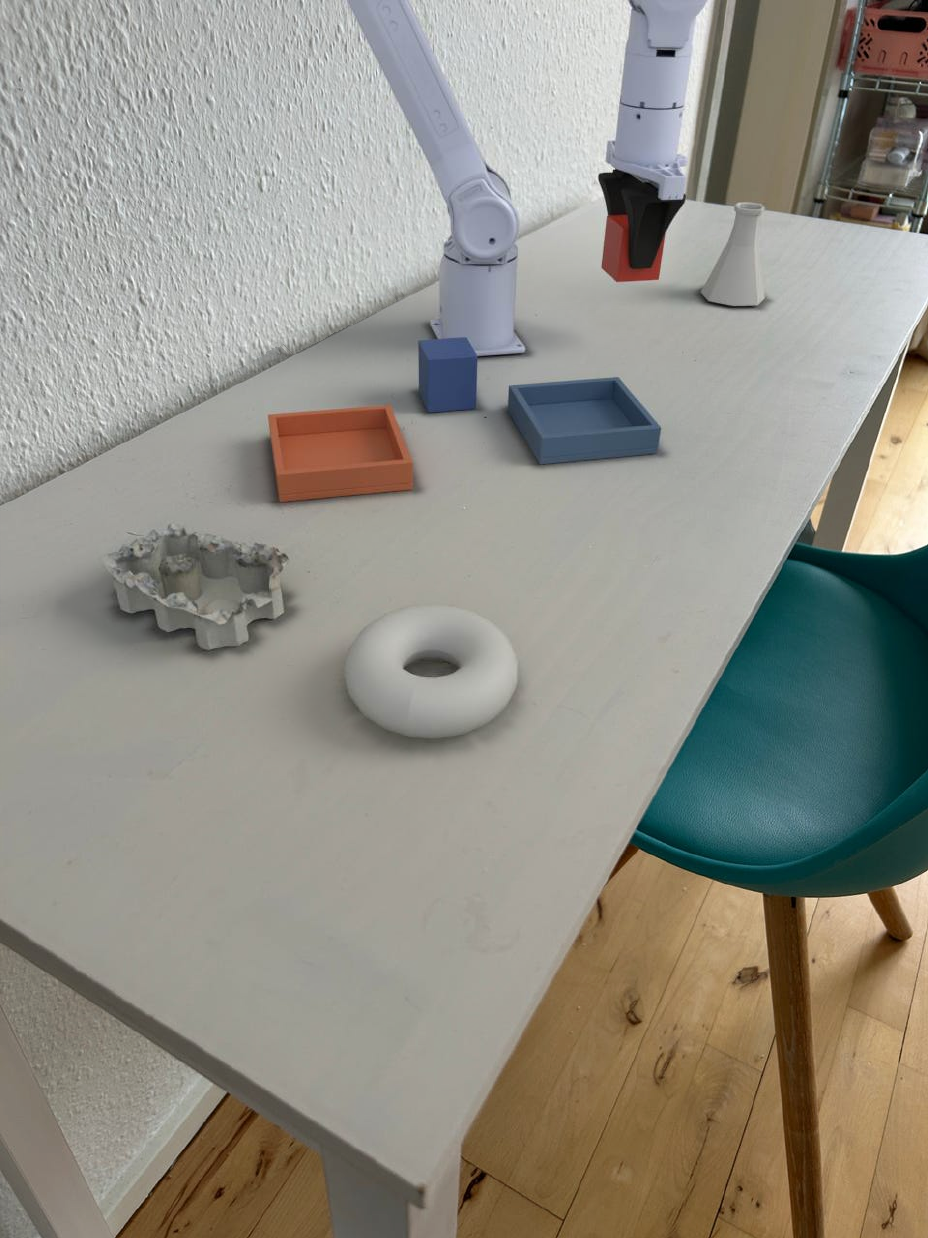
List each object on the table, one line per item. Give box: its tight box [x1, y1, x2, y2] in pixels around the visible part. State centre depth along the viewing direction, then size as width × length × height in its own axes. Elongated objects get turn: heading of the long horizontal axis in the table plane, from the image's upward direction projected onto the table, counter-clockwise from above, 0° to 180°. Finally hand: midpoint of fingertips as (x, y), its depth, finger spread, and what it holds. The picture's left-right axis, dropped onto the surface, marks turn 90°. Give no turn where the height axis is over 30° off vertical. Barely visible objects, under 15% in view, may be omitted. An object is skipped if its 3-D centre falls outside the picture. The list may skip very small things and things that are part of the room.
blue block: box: [417, 337, 479, 414], centre depth 85 cm, size 4×4×5 cm
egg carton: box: [96, 522, 290, 651], centre depth 60 cm, size 11×8×4 cm
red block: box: [600, 215, 667, 283], centre depth 93 cm, size 4×4×5 cm
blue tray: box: [507, 376, 662, 465], centre depth 81 cm, size 10×10×2 cm
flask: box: [700, 201, 766, 307], centre depth 106 cm, size 7×7×10 cm
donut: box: [343, 603, 519, 740], centre depth 54 cm, size 10×4×10 cm
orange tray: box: [267, 404, 414, 503], centre depth 76 cm, size 10×10×2 cm
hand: (631, 259), depth 93 cm, fingers closed on red block, 4 cm apart
